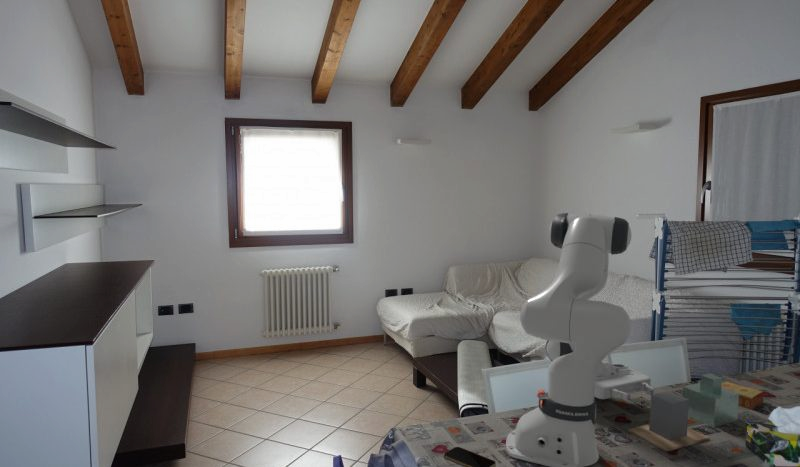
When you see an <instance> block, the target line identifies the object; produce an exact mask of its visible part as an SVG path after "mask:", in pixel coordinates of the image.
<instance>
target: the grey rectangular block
mask: <svg viewBox="0 0 800 467" xmlns="http://www.w3.org/2000/svg"><path fill="white" fill-rule="evenodd" d="M688 409H689V399H686V398H684V397H682V396H681V395H678V394H676V393H674V392H671V391H668V390H666V391H665V390H664V391H661V392H657V393H654V394H651V395H650V408H649V424H650V425H649V430H650V431H652V432H654V433H656V434H658V435H660V436H662V437H663V438H665V439H667V440H669V441H671V440H675V439H678V438H682V437H685V436H687V427H688V425H689V424H688V422H689V416H688Z"/></svg>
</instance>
